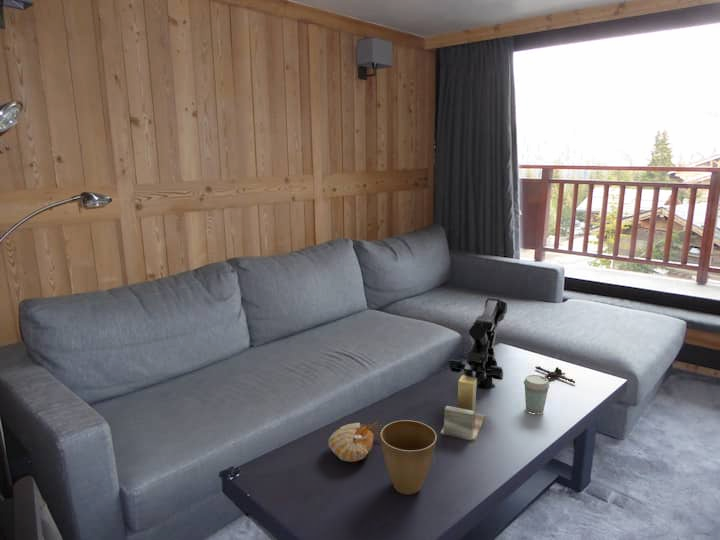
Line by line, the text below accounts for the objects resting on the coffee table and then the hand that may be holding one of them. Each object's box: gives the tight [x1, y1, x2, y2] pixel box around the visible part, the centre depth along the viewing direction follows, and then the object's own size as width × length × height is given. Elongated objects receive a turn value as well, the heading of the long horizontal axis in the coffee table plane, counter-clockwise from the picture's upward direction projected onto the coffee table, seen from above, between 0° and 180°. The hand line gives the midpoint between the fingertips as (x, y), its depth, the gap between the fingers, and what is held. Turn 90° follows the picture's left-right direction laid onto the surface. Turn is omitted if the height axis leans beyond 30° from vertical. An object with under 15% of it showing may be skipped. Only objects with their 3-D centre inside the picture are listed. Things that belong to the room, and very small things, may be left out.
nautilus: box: [327, 420, 385, 463], centre depth 159 cm, size 8×22×15 cm
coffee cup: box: [523, 374, 550, 414], centre depth 182 cm, size 8×8×12 cm
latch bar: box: [456, 374, 477, 413], centre depth 175 cm, size 6×5×14 cm
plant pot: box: [380, 419, 437, 495], centre depth 141 cm, size 15×15×16 cm
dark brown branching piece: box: [535, 365, 576, 384], centre depth 208 cm, size 18×4×14 cm
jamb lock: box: [440, 405, 486, 442], centre depth 173 cm, size 16×11×9 cm, turn 155°
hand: (471, 392), depth 181 cm, fingers closed
